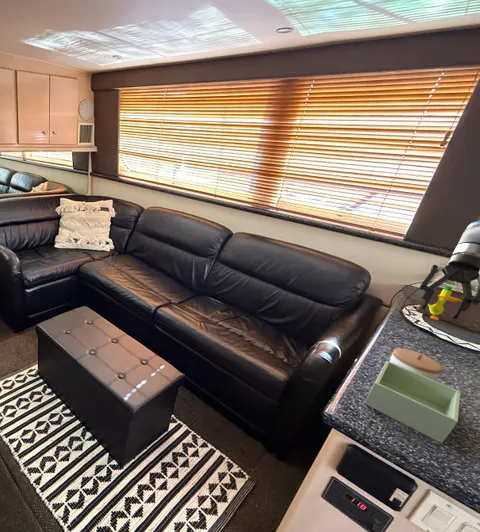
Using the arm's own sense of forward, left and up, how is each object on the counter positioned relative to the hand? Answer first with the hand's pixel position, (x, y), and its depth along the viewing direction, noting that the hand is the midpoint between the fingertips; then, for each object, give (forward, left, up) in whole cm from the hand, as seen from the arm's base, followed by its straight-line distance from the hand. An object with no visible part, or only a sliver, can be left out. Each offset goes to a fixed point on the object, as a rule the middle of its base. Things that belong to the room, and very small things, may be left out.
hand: (439, 312), depth 106 cm
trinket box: (0, +23, -18) cm, 29 cm away
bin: (-2, +40, -17) cm, 44 cm away
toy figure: (0, -4, -4) cm, 5 cm away
